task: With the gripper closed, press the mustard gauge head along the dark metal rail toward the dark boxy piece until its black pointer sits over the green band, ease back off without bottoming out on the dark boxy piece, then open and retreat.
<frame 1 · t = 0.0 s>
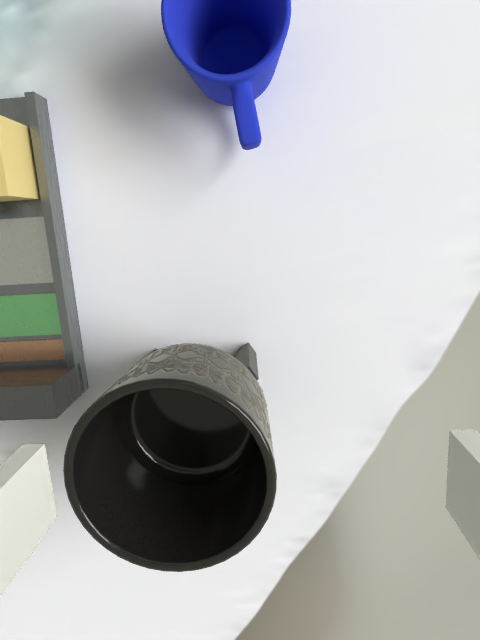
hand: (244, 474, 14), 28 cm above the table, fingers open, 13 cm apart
planter: (205, 377, 43), on the table
mug: (239, 90, 37), on the table
dark boxy piece: (28, 376, 44), resting on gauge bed
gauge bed: (7, 257, 41), on the table
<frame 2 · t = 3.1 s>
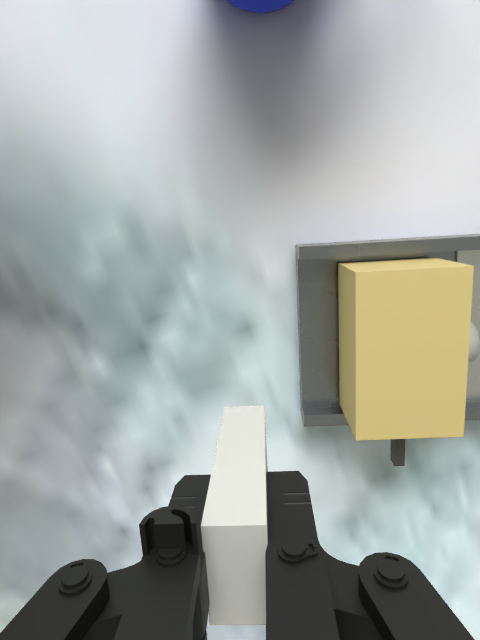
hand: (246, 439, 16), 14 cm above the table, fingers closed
gauge head: (406, 365, 26), point 4 cm above the table, slide at 0.0 cm
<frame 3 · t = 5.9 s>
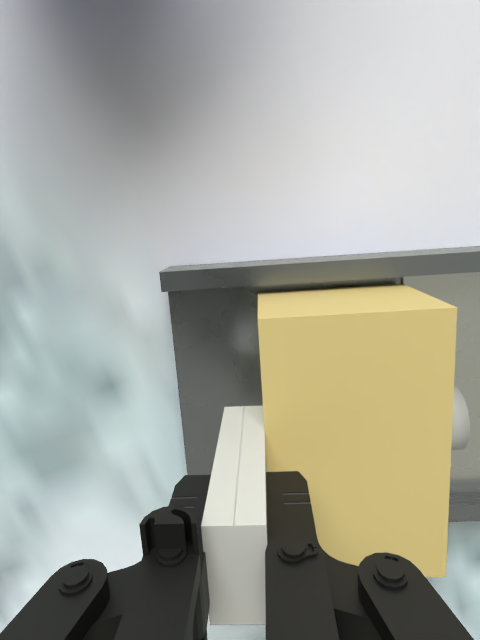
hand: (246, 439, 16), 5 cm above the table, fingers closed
gauge head: (359, 452, 17), point 4 cm above the table, slide at 1.4 cm, touching gripper
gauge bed: (469, 376, 20), on the table
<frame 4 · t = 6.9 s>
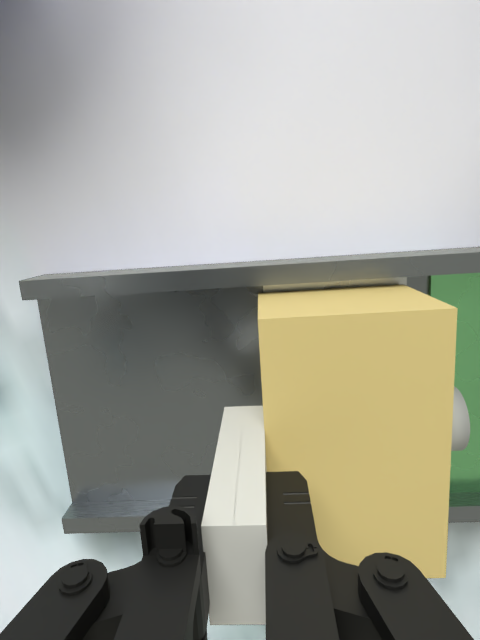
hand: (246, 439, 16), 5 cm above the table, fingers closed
gauge head: (359, 453, 17), point 4 cm above the table, slide at 7.3 cm, touching gripper
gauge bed: (342, 383, 21), on the table
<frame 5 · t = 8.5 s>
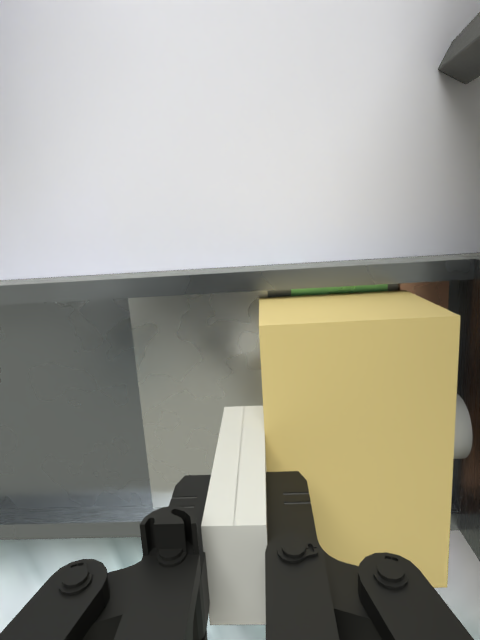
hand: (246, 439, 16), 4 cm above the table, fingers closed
dark boxy piece: (478, 383, 20), resting on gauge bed
gauge head: (360, 460, 17), point 4 cm above the table, slide at 13.1 cm, touching gripper
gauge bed: (219, 393, 21), on the table
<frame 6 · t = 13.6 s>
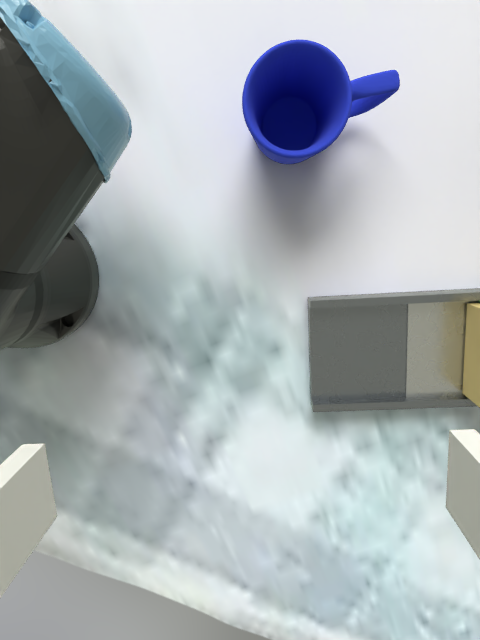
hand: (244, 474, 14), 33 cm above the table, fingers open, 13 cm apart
mug: (308, 124, 42), on the table
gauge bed: (437, 346, 46), on the table
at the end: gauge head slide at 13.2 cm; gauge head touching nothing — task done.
